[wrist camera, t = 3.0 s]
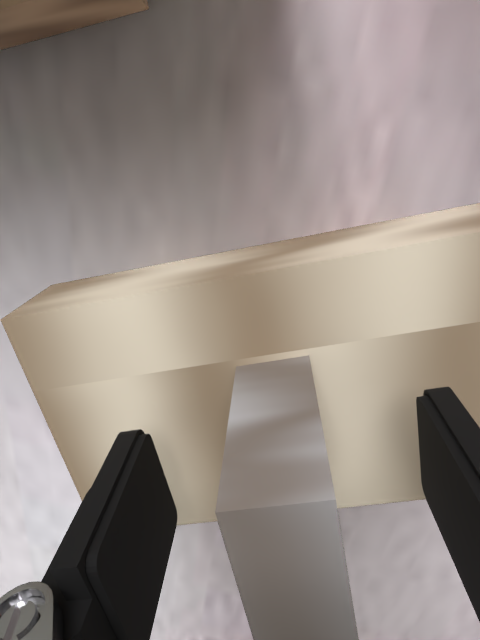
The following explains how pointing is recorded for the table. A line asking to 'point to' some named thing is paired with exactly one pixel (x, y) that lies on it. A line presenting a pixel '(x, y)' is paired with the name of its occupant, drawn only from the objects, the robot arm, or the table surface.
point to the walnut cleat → (57, 17)
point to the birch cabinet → (268, 389)
